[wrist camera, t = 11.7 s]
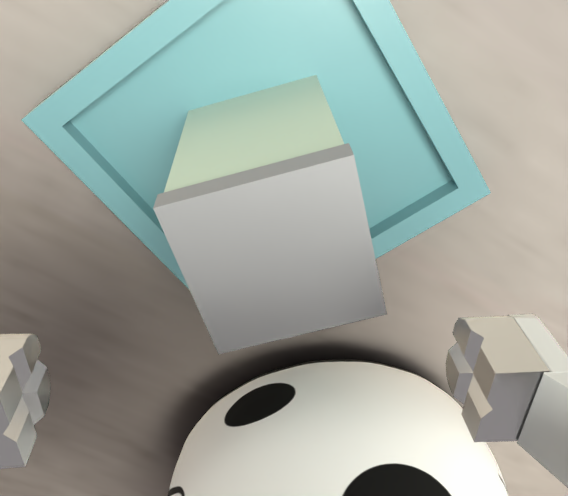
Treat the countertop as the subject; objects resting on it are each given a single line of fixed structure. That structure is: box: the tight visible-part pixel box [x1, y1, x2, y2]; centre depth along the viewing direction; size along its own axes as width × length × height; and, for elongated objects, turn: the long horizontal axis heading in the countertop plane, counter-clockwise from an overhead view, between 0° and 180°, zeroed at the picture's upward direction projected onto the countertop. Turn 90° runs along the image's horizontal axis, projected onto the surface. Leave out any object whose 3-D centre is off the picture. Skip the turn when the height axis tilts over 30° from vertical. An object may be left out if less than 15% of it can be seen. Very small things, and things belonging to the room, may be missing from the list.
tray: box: [22, 0, 491, 289], centre depth 22 cm, size 13×13×1 cm
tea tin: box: [153, 75, 387, 354], centre depth 18 cm, size 5×5×8 cm
